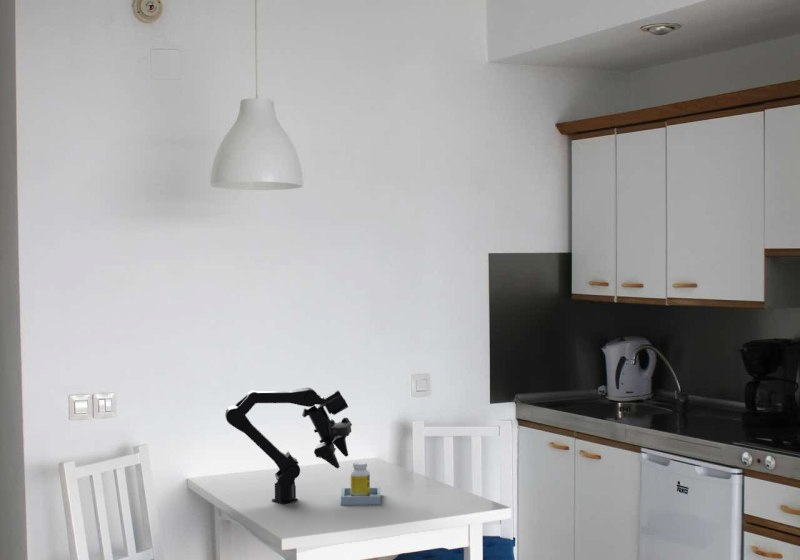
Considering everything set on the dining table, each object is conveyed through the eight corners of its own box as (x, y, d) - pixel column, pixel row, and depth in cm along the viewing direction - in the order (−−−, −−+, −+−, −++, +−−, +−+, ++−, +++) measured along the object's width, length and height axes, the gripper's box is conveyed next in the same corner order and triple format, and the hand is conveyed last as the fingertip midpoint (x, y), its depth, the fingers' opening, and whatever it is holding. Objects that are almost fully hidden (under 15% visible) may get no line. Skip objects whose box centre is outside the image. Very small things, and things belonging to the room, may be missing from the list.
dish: (380, 504, 302) (380, 496, 302) (341, 504, 301) (340, 497, 301) (380, 494, 315) (379, 487, 315) (342, 495, 314) (342, 487, 314)
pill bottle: (367, 500, 304) (367, 465, 304) (348, 499, 306) (348, 464, 306) (371, 495, 311) (371, 461, 311) (353, 495, 312) (353, 461, 312)
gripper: (332, 425, 298) (354, 466, 300) (350, 403, 316) (370, 442, 317) (304, 436, 302) (326, 477, 304) (323, 414, 320) (343, 453, 321)
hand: (342, 461), depth 312 cm, fingers open, 9 cm apart
